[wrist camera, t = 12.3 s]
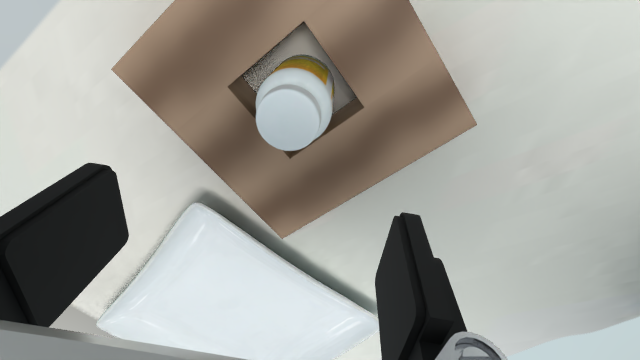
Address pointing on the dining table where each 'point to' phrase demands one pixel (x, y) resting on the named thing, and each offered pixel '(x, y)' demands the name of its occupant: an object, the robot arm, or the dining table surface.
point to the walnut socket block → (345, 125)
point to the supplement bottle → (295, 103)
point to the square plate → (233, 299)
